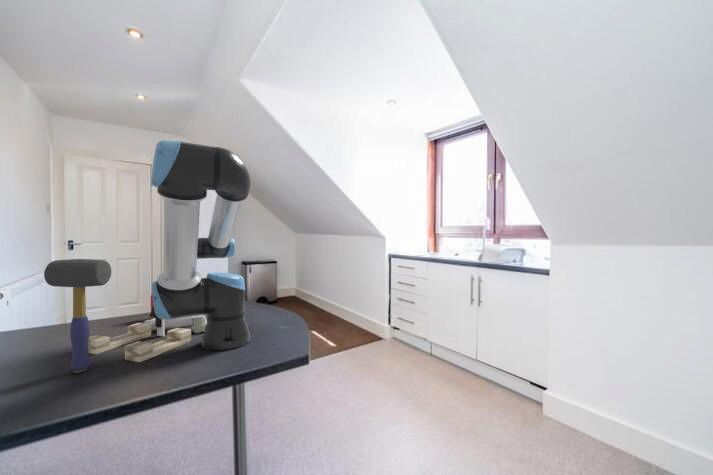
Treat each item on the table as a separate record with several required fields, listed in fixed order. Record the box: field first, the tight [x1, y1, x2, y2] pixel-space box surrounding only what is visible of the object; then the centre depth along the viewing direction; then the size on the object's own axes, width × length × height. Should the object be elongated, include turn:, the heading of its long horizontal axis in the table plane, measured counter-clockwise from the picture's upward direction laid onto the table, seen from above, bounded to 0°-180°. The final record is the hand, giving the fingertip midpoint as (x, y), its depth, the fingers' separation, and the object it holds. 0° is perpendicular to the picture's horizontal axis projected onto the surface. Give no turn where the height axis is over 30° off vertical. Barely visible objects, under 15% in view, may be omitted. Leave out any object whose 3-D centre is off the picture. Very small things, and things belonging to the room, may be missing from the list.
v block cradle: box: [88, 322, 192, 363], centre depth 101 cm, size 24×18×4 cm
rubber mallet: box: [43, 258, 112, 374], centre depth 83 cm, size 12×8×30 cm, turn 98°
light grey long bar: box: [141, 314, 207, 334], centre depth 117 cm, size 5×7×25 cm
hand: (176, 330), depth 117 cm, fingers open, 12 cm apart
